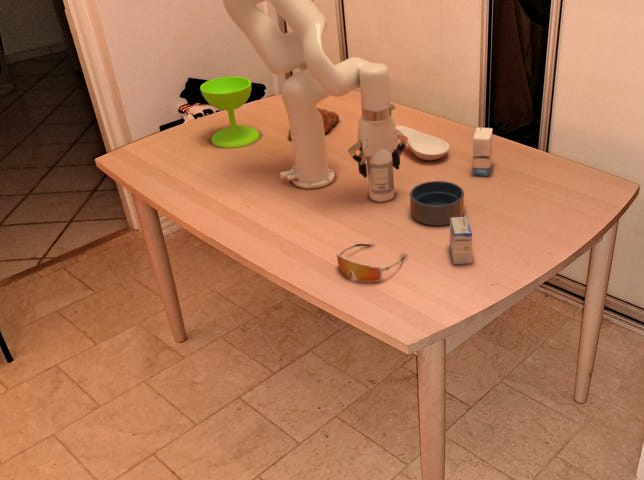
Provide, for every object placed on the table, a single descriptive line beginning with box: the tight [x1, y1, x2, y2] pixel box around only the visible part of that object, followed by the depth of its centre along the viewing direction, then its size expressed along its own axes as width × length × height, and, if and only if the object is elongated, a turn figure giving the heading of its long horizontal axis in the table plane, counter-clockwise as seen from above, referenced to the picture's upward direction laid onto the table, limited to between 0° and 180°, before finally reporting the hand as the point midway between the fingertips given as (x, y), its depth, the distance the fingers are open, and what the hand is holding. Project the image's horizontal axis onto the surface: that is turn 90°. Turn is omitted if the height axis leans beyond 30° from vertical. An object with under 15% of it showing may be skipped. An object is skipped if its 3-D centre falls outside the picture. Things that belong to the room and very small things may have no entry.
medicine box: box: [449, 216, 473, 265], centre depth 170 cm, size 8×4×9 cm, turn 5°
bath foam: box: [366, 149, 395, 203], centre depth 192 cm, size 7×7×20 cm
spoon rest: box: [395, 125, 451, 161], centre depth 219 cm, size 24×12×7 cm, turn 56°
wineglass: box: [199, 76, 261, 149], centre depth 230 cm, size 16×16×18 cm
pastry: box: [288, 107, 340, 141], centre depth 236 cm, size 17×15×8 cm
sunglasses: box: [336, 242, 405, 283], centre depth 169 cm, size 14×15×5 cm
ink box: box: [472, 126, 494, 177], centre depth 207 cm, size 9×5×12 cm, turn 168°
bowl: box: [409, 180, 465, 226], centre depth 188 cm, size 14×14×6 cm
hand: (379, 171), depth 194 cm, fingers open, 9 cm apart
